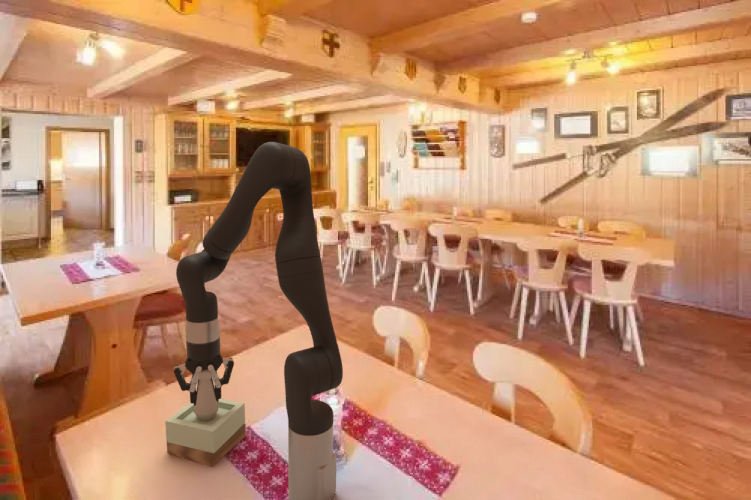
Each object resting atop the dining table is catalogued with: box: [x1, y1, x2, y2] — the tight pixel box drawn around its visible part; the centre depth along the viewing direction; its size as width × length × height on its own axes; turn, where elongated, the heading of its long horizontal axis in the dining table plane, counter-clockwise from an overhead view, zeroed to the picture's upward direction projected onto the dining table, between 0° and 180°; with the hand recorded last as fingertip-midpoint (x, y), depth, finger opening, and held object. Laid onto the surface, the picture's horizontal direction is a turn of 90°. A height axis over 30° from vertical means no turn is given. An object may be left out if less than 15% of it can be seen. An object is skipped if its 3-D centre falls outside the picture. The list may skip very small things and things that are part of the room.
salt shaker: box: [193, 369, 219, 422], centre depth 112 cm, size 6×6×13 cm
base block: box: [166, 423, 247, 468], centre depth 115 cm, size 13×13×4 cm
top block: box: [164, 398, 246, 453], centre depth 114 cm, size 13×13×6 cm
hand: (205, 401), depth 113 cm, fingers open, 4 cm apart
